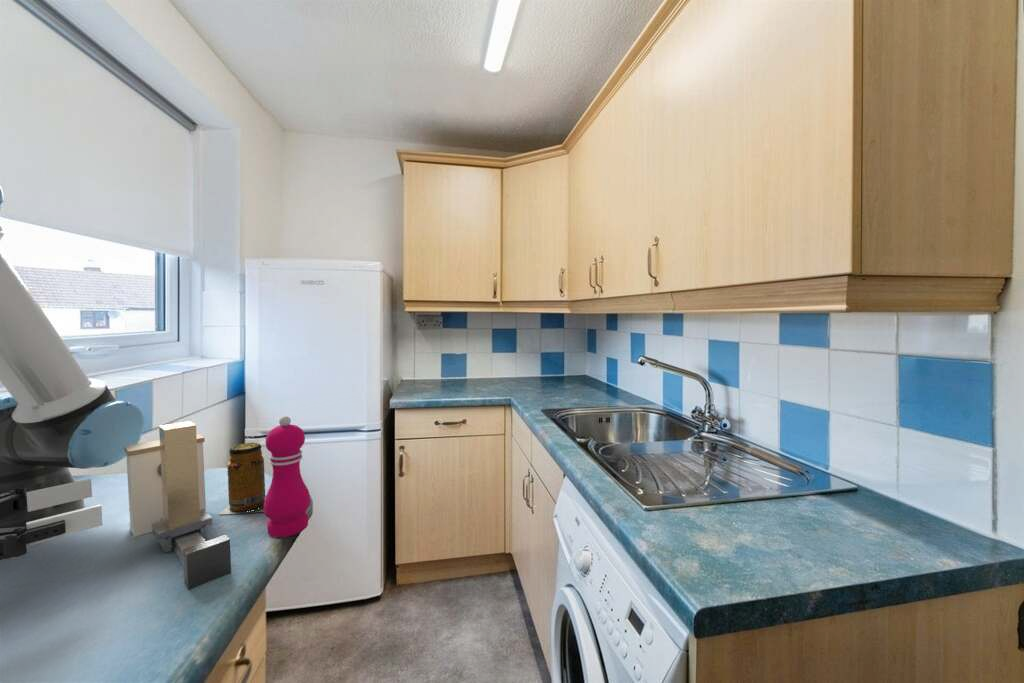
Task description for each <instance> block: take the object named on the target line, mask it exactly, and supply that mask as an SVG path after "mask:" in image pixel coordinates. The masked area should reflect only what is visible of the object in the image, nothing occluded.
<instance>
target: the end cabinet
mask: <svg viewBox="0 0 1024 683" xmlns="http://www.w3.org/2000/svg"><path fill="white" fill-rule="evenodd" d="M196 436H197V459H198V482H199V504H200V510H201V509H204V510H205V511H206V512H207V507H206V506H207V505H206V503H207V502H206V482H205V481H206V480H205V460H204V459H205V458H204V443H205V437H204V436H202V435H201V434H200V433H197V432H196ZM124 451H125V452H126V471H127V489H128V491H127V492H128V510H129V512H128V513H129V526H130V528H129V529H130V532H131V533H132V536H133V537H134V538H135V537H138V536H143V535H146V534H149V533H152V530H151V524H153V523H157V522H160V521H161V517H164V515H163V495H162V475H161V454H160V439H158V440H152V441H146V442H141V443H138V444H134V445H128V446H124Z"/></svg>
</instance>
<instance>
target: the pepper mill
mask: <svg viewBox="0 0 1024 683" xmlns="http://www.w3.org/2000/svg"><path fill="white" fill-rule="evenodd" d="M291 421H292V420H291V418H290V416H287V415H284V416H281V417H280V418H279V421H278V424H279V425H278V426H275V427H274V428H271V429H270V430H269V431H268V433H267V434H266V438H265V442H264V443H265V447H266V450H268V451H269V452H270V455H269V456H268V458H269V464H270V465H272V479H271V482H270V486H269V489H268V490H267V493H266V494H265V496H266V498H265V501H264V512H263V514H264V515H265V517H267V519H269V520H268V521H267V534H268V535H269V536H270V537H272V538H277V539H278V538H286V537H292V536H294V535H298V534H299V533H301V532H303V531H304V530H305V529H307V528H308V526H309V515H308V514H309V513H307V510H308V509H309V508H310V505H311V495H310V491H309V488H308V487H307V485H306V484H305V481H304V478H302V474H301V468H300V467H301V466H300V465H301V464H300V463H301V461H302V459H303V455H302V454H303V451H302V449H301V448H302V447H303V446H304V444H305V441H306V436H305V432H304V429H302V427H300V426H299V425H295V424H292V423H291Z"/></svg>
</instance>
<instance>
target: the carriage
mask: <svg viewBox="0 0 1024 683" xmlns="http://www.w3.org/2000/svg"><path fill="white" fill-rule="evenodd" d="M158 428H159V429H158V430H159V440H160V454H161V475H162V495H163V515H164V521H160V522H157V523H153V524H151V530H152V532H151V533H152V535H153V536H154V538H155V540H156V541H157V543H159V545H160V546H161V548H162V550H163V551H164V553H168V552H171V551H172V549H173V547H172V545H171V538H172V537H175V536H178V535H182V534H185V533H188V532H191V531H194V530H197V531H198V532H199V533H200V535H201V536H202V537H203V538H204V540H206V539H207V538H208V535H207V534H208V533H207V532H208V531H207V529H208V528H207V527H210V526H212V525H213V517H212V516H211V515H210V513H208V512H207V510H206V511H205V510H204V509H201V510H200V504H199V482H198V459H197V436H196V434H197V425H196V424H195V423H194V422H192V421H191V420H187V421H183V422H182V421H181V422H175V423H169V424H163V425H162V424H161V425H159V426H158Z"/></svg>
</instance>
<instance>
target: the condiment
mask: <svg viewBox="0 0 1024 683" xmlns="http://www.w3.org/2000/svg"><path fill="white" fill-rule="evenodd" d="M228 452H229V461H228V462H227V485H228V486H227V491H228V493H227V494H228V506H227V507H226V508H225V509H223V510H221V511H220V512H219V513H218V515H240V514H244V513H245V514H251V513H252V514H253V513H255V514H256V513H264V501H265V498H266V482H265V481H266V479H265V477H266V476H265V458H264V456H263V453H262V452H263V451H262V445H261V444H260V443H259V442H245V443H240V444H236V445H233V446H232V447H231V448H229V451H228ZM229 506H230V508H229ZM227 508H229V510H230V511H229V510H228V509H227ZM258 508H259V509H258ZM251 510H254V511H251ZM247 511H248V512H247ZM249 511H250V512H249Z"/></svg>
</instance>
